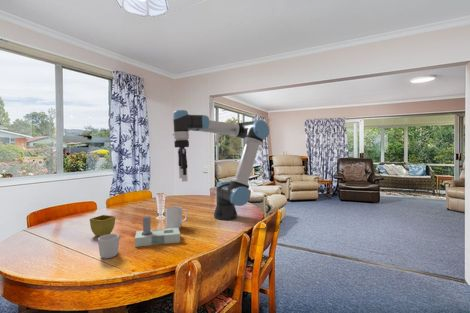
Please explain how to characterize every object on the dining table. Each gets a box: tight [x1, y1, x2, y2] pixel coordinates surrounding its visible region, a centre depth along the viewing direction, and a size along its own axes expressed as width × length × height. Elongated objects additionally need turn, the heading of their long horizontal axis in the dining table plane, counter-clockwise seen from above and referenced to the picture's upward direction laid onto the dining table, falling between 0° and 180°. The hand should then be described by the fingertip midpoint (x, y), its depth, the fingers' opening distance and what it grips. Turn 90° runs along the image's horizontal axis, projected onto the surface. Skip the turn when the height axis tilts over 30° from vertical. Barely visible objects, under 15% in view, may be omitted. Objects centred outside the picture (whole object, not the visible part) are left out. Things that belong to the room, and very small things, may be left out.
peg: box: [142, 215, 152, 235], centre depth 120 cm, size 3×3×12 cm
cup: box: [97, 233, 120, 259], centre depth 106 cm, size 11×8×8 cm
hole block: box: [134, 228, 181, 248], centre depth 122 cm, size 20×10×4 cm, turn 107°
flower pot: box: [89, 214, 116, 237], centre depth 130 cm, size 9×9×9 cm
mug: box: [164, 205, 188, 229], centre depth 143 cm, size 12×9×11 cm
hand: (183, 179), depth 135 cm, fingers open, 13 cm apart
